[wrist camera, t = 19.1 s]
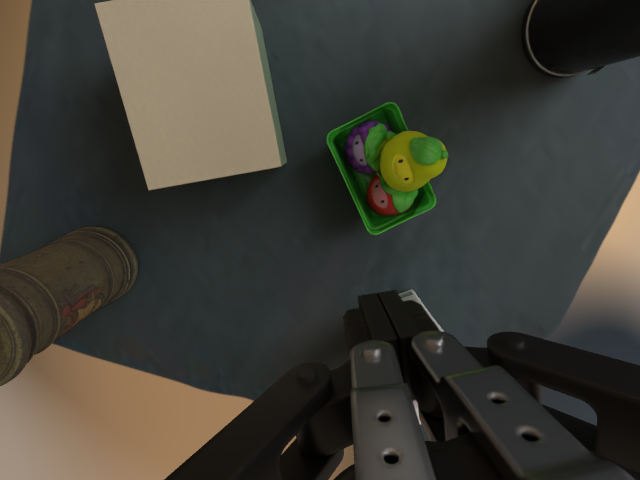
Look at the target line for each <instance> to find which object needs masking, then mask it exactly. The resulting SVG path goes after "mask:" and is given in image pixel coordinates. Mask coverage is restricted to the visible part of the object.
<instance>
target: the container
mask: <svg viewBox="0 0 640 480" xmlns="http://www.w3.org/2000/svg"><path fill="white" fill-rule="evenodd" d="M137 275H138V259H137V256H136V253H135V251H134V249H133V247H132V246H131V245H130V243H129V242H128V241H127V240H126V239H125V238H124V237H122V236H121V235H120V234H118V233H116V232H114V231H112V230H110V229H107V228H102V227H82V228H79V229H76V230H74V231H72V232H70V233H68V234H66V235H63V236H62V237H60V238H58V239H57V240H56V241H55V242H52V243H49V244H47V245H45V246H43V247H42V248H40V249H39V250H37V251H35V252H32V253H30V254H27V255H25V256H22V257H19V258H17V259H14V260H12V261H9V262H7V263H4V264H1V265H0V386H2V385H4V384H6V383H7V382H9V381H11V380H12V379H13V378H15V377H16V376H17V375H18V374H19V373H20V372H21V371H22V369H23V368H24V367H25V365H26V364H27V363H28V362H29V361H30V360H31V358H32V357H33V355H35V354H38V353H40V352H42V351H43V350H45V349H46V348H47V347H49V346H50V345H51V344H52V342H53V341H55V340H56V339H57V338H59V337H60V336H61V335H62V334H64V333H65V332H66V331H68V330H69V329H70V328H72V327H73V326H74V325H76V324H77V323H78V322H80V321H81V320H82V319H84V318H85V317H86V316H88V315H89V314H90V313H92V312H94V311H96V310H98V309H99V308H101V307H102V306H103V305H105V304H107V303H110V302H112V301H114V300H116V299H117V298H119V297H120V296H122V295H124V294H125V293H126V292H128V291H129V290H130V288H131V287H132V286H133V284H134V282H135V280H136V278H137Z"/></svg>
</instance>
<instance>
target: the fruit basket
mask: <svg viewBox="0 0 640 480" xmlns="http://www.w3.org/2000/svg"><path fill="white" fill-rule="evenodd" d="M326 141H327V145H328V147H329V149H330V151H331V153H332V155H333V157H334V159H335V161H336V163H337V166H338V168H339V170H340V172H341V174H342V176H343V179H344V181H345V183H346V185H347V187H348V190H349V192H350V194H351V196H352V199H353V201H354V203H355V205H356V207H357V209H358V211H359V214H360V216H361V218H362V220H363V222H364V225H365V227H366V229H367V231H368V232H369V233H370V234H372V235H378V234H380V233H382V232H384V231H386V230H388V229H390V228H392V227H395V226H397V225H399V224H401V223H403V222H405V221H407V220H409V219H411V218H413V217H415V216H418V215H420V214H422V213H424V212H426V211H429V210H430V209H432V208H433V207H434V206H435V204H436V197H435V195H434V192H433V190H432V188H431V185H430V183H429V180H430V179H431V178H434V177H436V176H437V175H439V174H440V173H441V172H442V171H443V170H444V168H445V166H446V163H447V157H448V152H447V151H446V148H445V146H444V144H443V143H442V142H441V141H440V140H438V139H437V138H434V137H428V136H426V135H424V134H423V133H420V132H416V131H408V129H407V126H406V124H405V121H404V119H403V116H402V114H401V112H400V109H399V107H398V106H397V104H395V103H393V102H387V103H385V104H383V105H381V106H379V107H378V108H375V109H373V110H371V111H369V112H368V113H366V114H364V115H362V116H360V117H358V118H356V119H354V120H352V121H350V122H348V123H346V124H344V125H342V126H340V127H338V128H336V129H334V130H332V131H330V132H329V133H328V135H327V139H326Z"/></svg>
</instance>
